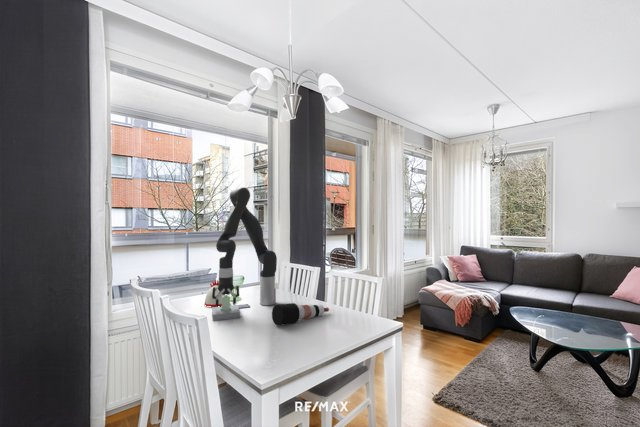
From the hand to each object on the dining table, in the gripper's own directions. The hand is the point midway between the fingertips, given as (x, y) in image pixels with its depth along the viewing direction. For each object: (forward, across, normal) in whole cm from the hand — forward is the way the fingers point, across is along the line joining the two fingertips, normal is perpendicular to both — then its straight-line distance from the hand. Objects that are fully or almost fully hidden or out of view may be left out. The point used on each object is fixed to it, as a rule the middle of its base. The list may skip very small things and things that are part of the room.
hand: (225, 305), depth 173 cm
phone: (+6, -8, -13) cm, 16 cm away
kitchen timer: (+6, +4, -25) cm, 26 cm away
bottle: (+6, -38, +22) cm, 45 cm away
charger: (+5, 0, 0) cm, 5 cm away
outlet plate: (+5, 0, 0) cm, 5 cm away
